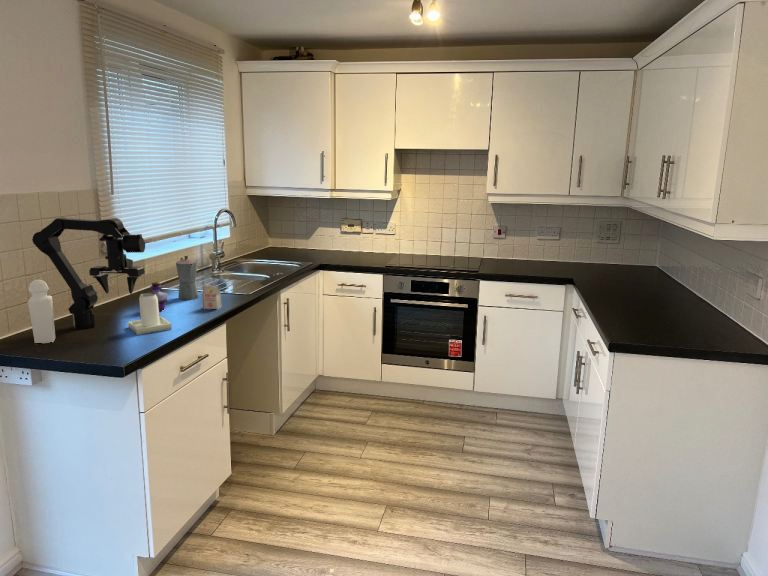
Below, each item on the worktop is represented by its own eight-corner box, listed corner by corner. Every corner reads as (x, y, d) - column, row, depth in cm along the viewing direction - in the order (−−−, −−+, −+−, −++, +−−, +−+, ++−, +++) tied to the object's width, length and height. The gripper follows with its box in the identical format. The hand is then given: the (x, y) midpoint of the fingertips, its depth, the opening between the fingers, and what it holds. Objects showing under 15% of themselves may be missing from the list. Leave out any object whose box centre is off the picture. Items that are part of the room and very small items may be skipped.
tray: (136, 335, 206) (136, 329, 206) (128, 327, 216) (128, 321, 216) (171, 329, 214) (171, 323, 213) (162, 322, 223) (162, 316, 223)
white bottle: (33, 344, 195) (24, 282, 190) (36, 339, 200) (28, 278, 196) (54, 342, 197) (47, 280, 192) (57, 337, 203) (49, 277, 198)
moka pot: (184, 302, 255) (181, 258, 251) (171, 296, 267) (168, 254, 262) (204, 299, 261) (202, 256, 257) (191, 293, 273) (188, 252, 268)
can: (148, 322, 219) (145, 292, 217) (163, 323, 218) (160, 292, 215) (137, 326, 213) (134, 295, 211) (153, 327, 212) (150, 296, 209)
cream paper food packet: (207, 306, 248) (206, 284, 246) (221, 307, 246) (220, 285, 244) (203, 308, 244) (201, 286, 242) (217, 310, 243) (215, 287, 240)
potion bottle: (173, 308, 245) (171, 281, 242) (161, 313, 236) (158, 285, 234) (155, 307, 247) (153, 280, 244) (142, 312, 238) (140, 284, 236)
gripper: (149, 249, 218) (153, 289, 221) (102, 249, 219) (107, 288, 223) (135, 254, 207) (139, 295, 211) (86, 253, 208) (90, 294, 212)
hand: (119, 293), depth 214 cm, fingers open, 9 cm apart
